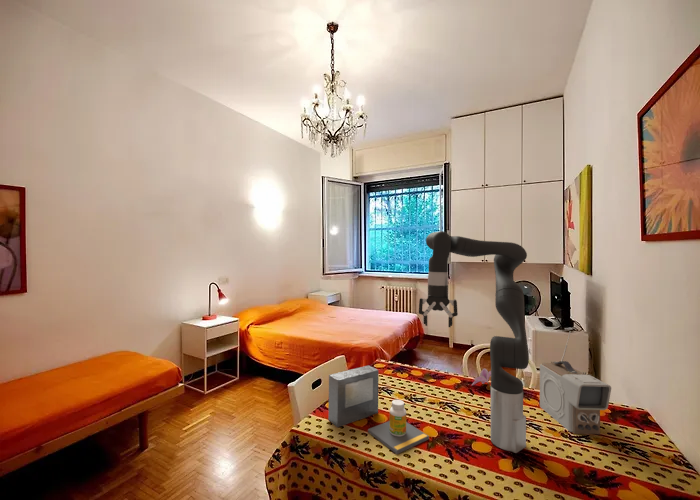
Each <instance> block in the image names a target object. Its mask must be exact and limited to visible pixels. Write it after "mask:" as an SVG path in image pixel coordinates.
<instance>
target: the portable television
mask: <svg viewBox="0 0 700 500" xmlns="http://www.w3.org/2000/svg"><path fill="white" fill-rule="evenodd" d="M571 334H572V331H569V333H568V338H567V340H566V344H565V346H564V347H565V348H564V350H563V355H562V357H561V360H560V361H550V362H542V363H539V407H540V408H541V410H543V411H545V412H546V413H547V415H549V416H551V418H553V420H555V421H556V422H557V423H558V424H560V425H561V426H562V427H563V428H564V429H566V430H567V431H568V432H570V433H572V434H577V435H579V434H580V435H582V434H583V435H601V411H606V410H607V409H608V408H609V403H610V399H611V398H610V397H611V392H612V386H611V385H609V384H607V383H606V382H604V381H602V380H600V379H598V378H596V377H594V376H592V374H587V372H583V371H582V372H581V371H579V370H577V369H575V368H574V367H573V366H572V365H571V364H570V363H569V361H567V360H566V361H565V360H564V359H565V354H566V351H567V347H568V342H569V339H570V336H571Z"/></svg>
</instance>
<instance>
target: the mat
mask: <svg viewBox="0 0 700 500" xmlns="http://www.w3.org/2000/svg"><path fill="white" fill-rule="evenodd" d="M389 428H390V420H388V421H386V422H383V423H380V424H378V425H375V426H373V427H370V428H368V429H367V433H368V434H370V436H371V437H373V438H375V439H376V440H378V442H380V443H381V444H382V445H384V446H385V447H386V448H387V449H389V450H390V451H392V453H394V454H396V455H398V454H401V453H402V452H405V451H407V450H409V449H411V448H413V447H415V446H418V445H420V444H422V443H424V442H426V441H428V440H430V436H429V435H428V434H427V433H425V432H423V430H421V429H419V428H417V427H415V426H414V425H412V424H410V423H409V422H407V421H406V434H405V435H404V436H400V437H398V436H394V435H392V434H391V433H390V429H389Z"/></svg>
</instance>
